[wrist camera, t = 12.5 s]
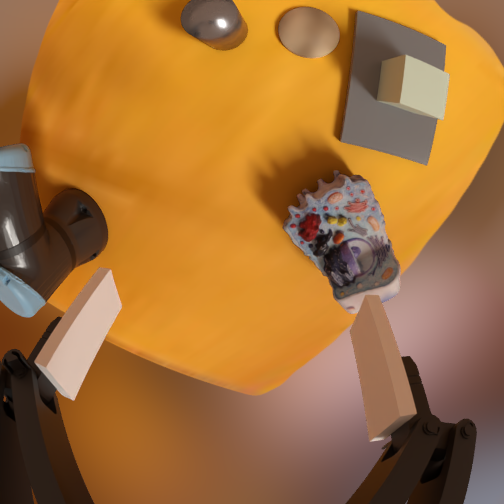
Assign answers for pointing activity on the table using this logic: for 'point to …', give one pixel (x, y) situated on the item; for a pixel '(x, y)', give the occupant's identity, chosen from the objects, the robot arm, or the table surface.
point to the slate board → (367, 83)
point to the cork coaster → (308, 32)
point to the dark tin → (215, 23)
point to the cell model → (346, 239)
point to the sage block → (413, 86)
